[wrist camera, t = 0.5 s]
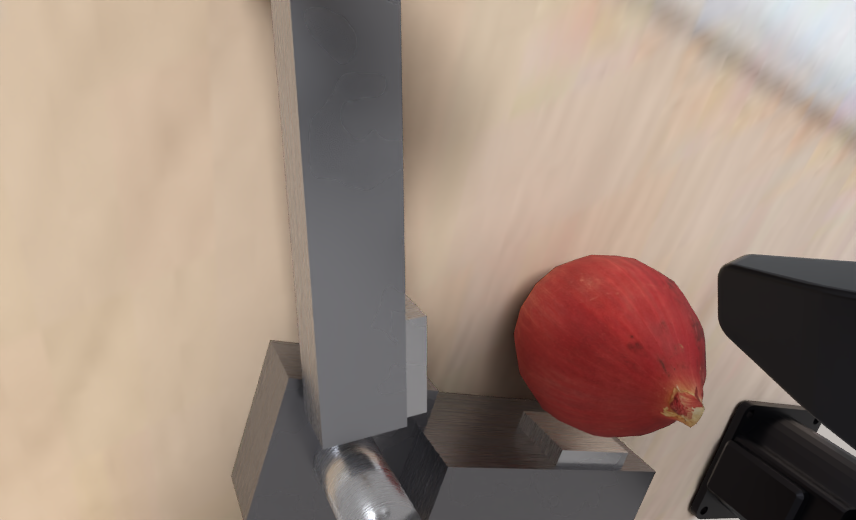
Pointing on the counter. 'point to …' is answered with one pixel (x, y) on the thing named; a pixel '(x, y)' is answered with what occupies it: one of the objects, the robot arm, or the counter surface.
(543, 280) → the onion
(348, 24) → the lever
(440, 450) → the base
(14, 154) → the counter surface
